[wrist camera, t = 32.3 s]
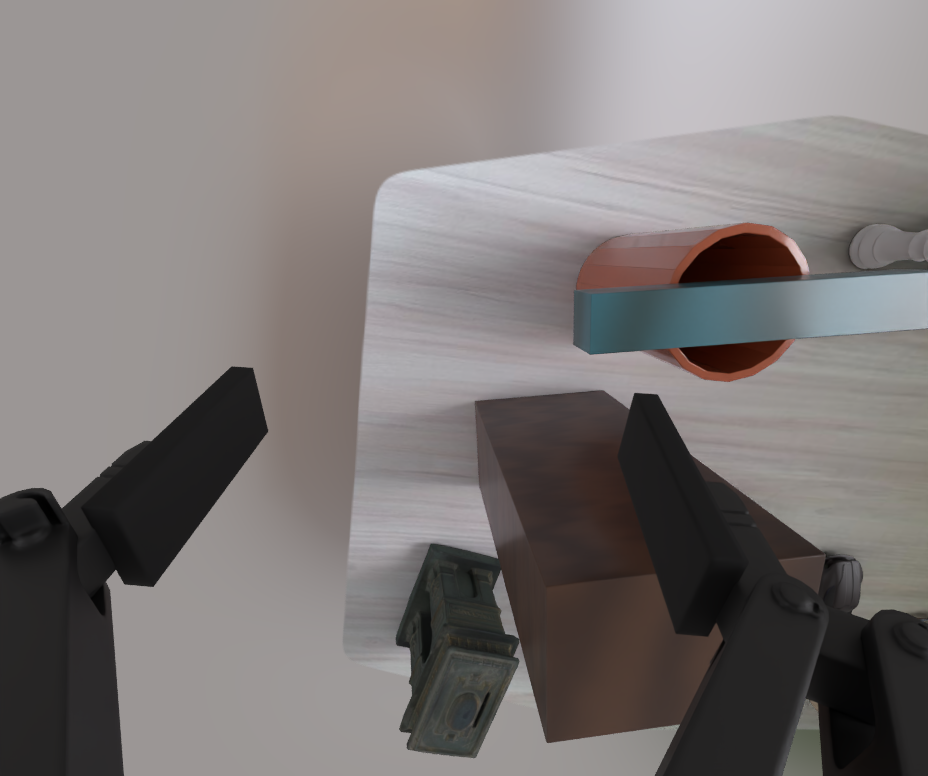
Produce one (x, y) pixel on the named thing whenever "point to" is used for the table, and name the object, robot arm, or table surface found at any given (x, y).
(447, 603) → the model
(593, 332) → the bar
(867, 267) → the white chess piece
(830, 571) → the toy car
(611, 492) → the pedestal
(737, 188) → the table surface
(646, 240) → the tall cup
